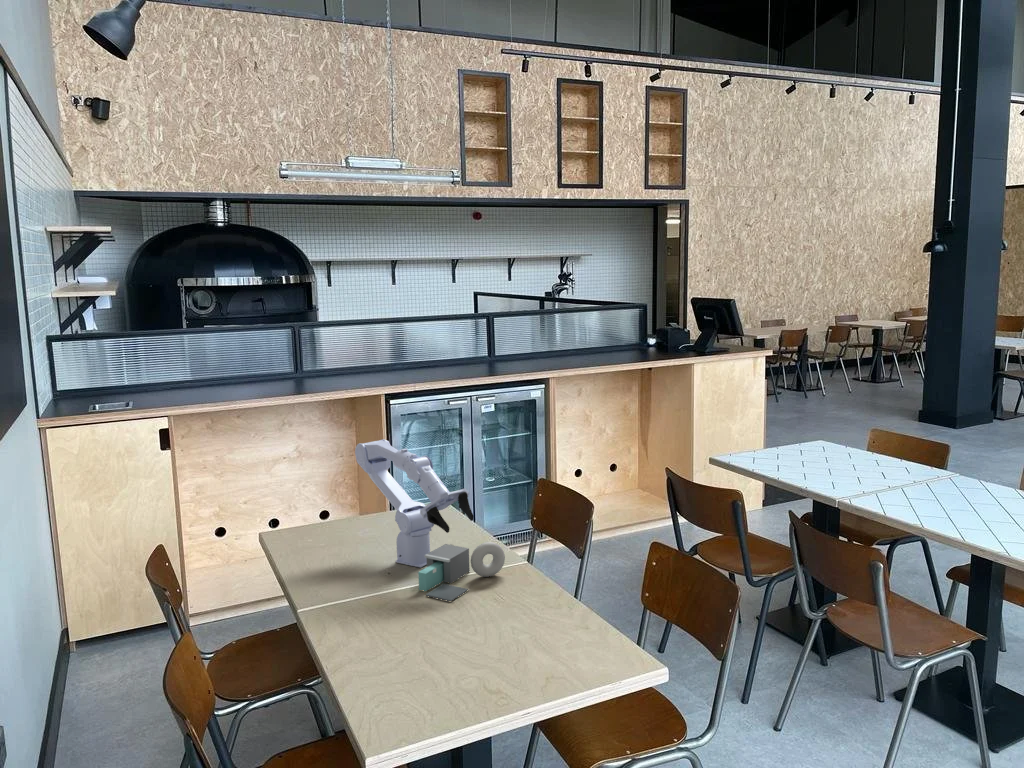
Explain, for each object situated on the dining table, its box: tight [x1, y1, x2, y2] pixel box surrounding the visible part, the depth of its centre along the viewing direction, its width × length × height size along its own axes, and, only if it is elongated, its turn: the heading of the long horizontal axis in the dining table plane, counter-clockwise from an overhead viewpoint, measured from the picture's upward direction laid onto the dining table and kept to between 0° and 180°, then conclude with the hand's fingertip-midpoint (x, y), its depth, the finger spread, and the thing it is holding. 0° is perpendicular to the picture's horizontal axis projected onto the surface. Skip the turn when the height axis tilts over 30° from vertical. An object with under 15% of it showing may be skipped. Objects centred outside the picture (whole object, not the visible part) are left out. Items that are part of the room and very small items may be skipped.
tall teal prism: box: [417, 561, 444, 592], centre depth 208 cm, size 2×11×5 cm, turn 150°
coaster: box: [425, 583, 469, 602], centre depth 202 cm, size 8×8×1 cm
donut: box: [470, 541, 506, 578], centre depth 212 cm, size 10×4×10 cm, turn 112°
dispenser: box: [425, 543, 471, 584], centre depth 213 cm, size 8×10×7 cm
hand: (460, 524), depth 207 cm, fingers open, 7 cm apart
